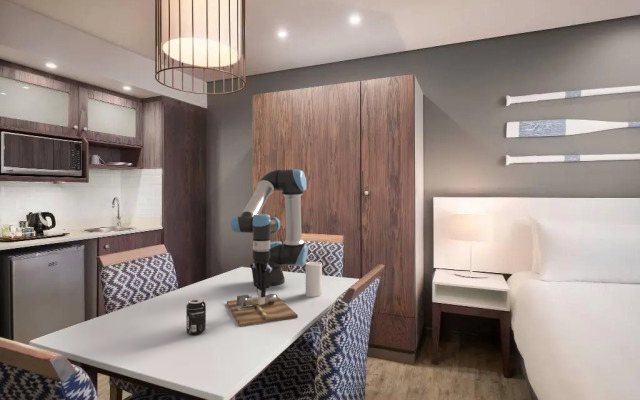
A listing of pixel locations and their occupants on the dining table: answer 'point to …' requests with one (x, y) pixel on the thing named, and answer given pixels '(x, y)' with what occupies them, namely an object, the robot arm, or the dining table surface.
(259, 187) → the robot arm
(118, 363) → the dining table surface
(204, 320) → the beverage can
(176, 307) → the dining table surface
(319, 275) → the cup
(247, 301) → the bar
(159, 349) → the dining table surface
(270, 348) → the dining table surface
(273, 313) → the door board
